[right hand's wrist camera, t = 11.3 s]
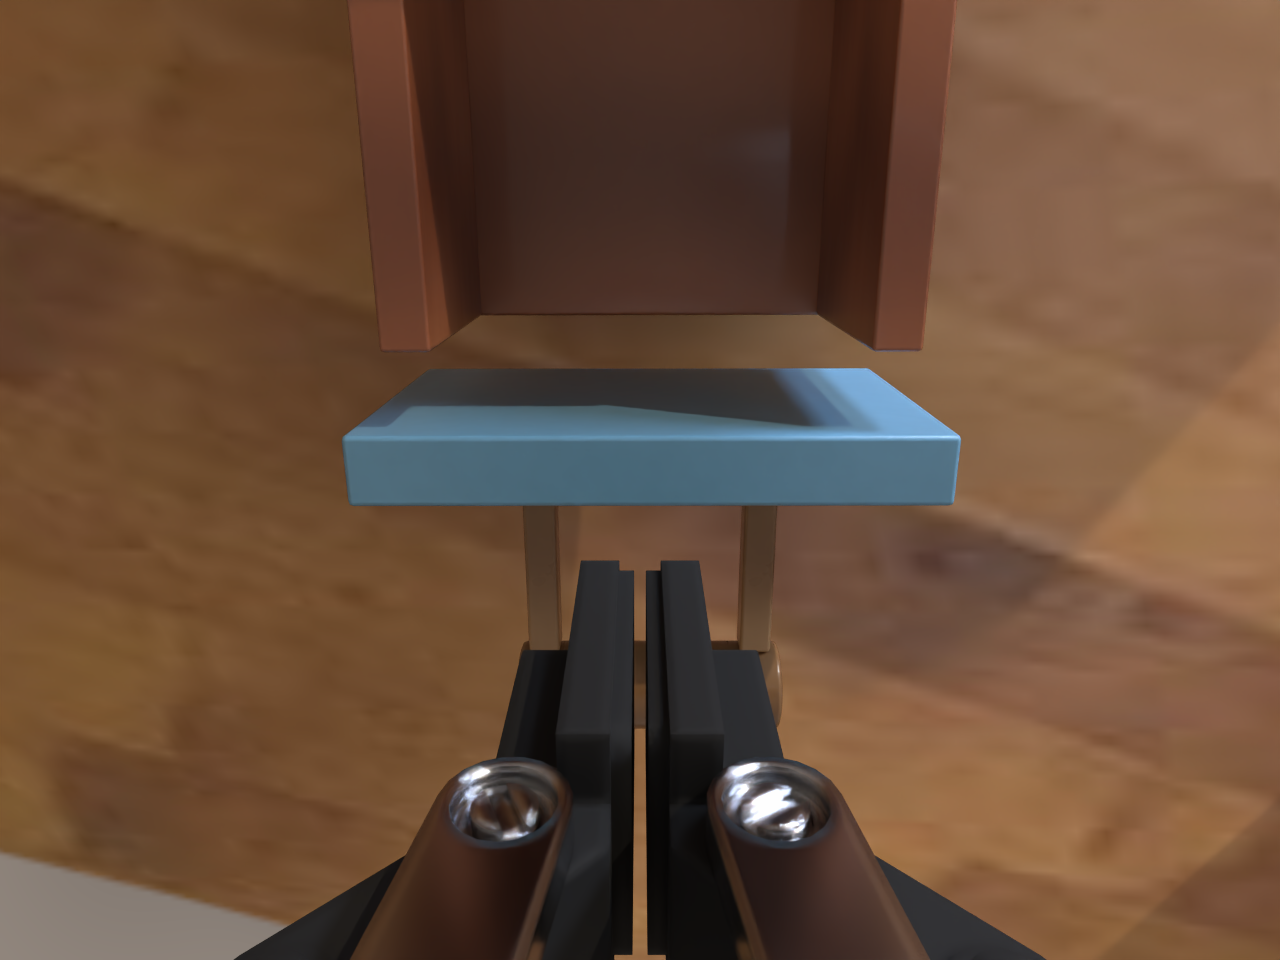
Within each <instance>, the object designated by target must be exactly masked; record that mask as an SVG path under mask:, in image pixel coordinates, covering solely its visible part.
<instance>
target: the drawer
mask: <svg viewBox="0 0 1280 960" xmlns="http://www.w3.org/2000/svg"><path fill="white" fill-rule="evenodd" d="M347 6H348V17H349V27H350V38H351V48H352V59H353V69H354V80H355V90H356V101H357V112H358V122H359V133H360V143H361V154H362V164H363V175H364V186H365V196H366V207H367V217H368V228H369V238H370V249H371V259H372V270H373V281H374V291H375V302H376V312H377V323H378V333H379V344H380V349H381V351H383V352H429V351H431V350H432V349H433V348H435V347H436V346H438V345H439V344H440V343H442V342H443V341H445V340H446V339H448V338H449V337H450V336H452V335H453V334H455V333H456V332H458V331H459V330H460V329H462V328H463V327H465V326H466V325H468V324H469V323H470V322H472V321H473V320H475V319H476V318H477V317H479V316H480V315H819V316H821V317H822V318H824V319H825V320H827V321H828V322H830V323H831V324H833V325H834V326H836V327H838V328H839V329H841V330H842V331H844V332H845V333H847V334H848V335H850V336H852V337H853V338H855V339H856V340H858V341H859V342H861V343H862V344H864V345H865V346H867V347H869V348H870V349H872V350H874V351H920V350H922V348H923V340H924V330H925V320H926V310H927V299H928V289H929V279H930V269H931V259H932V249H933V239H934V229H935V219H936V209H937V199H938V189H939V178H940V168H941V158H942V148H943V138H944V128H945V118H946V108H947V98H948V88H949V78H950V67H951V57H952V47H953V37H954V27H955V17H956V7H957V0H347ZM960 444H961V439H960V436H959V435H958V434H956V433H955V432H954V431H952V430H951V429H949V428H948V427H947V426H945V425H944V424H943V423H941V422H940V421H939V420H937V419H936V418H935V417H933V416H932V415H931V414H929V413H928V412H926V411H925V410H924V409H922V408H921V407H920V406H918V405H917V404H916V403H914V402H913V401H912V400H910V399H909V398H908V397H906V396H905V395H903V394H902V393H901V392H899V391H898V390H897V389H895V388H894V387H893V386H891V385H890V384H889V383H887V382H886V381H885V380H883V379H882V378H880V377H879V376H878V375H876V374H875V373H874V372H872V371H871V370H870V369H867V368H787V369H429V370H427V371H426V372H425V373H423V374H422V375H421V376H420V377H418V378H417V379H416V380H415V381H413V382H412V383H411V384H409V385H408V386H407V387H406V388H404V389H403V390H402V391H401V392H399V393H398V394H397V395H395V396H394V397H393V398H392V399H390V400H389V401H388V402H387V403H385V404H384V405H383V406H381V407H380V408H379V409H378V410H376V411H375V412H374V413H373V414H371V415H370V416H369V417H367V418H366V419H365V420H364V421H362V422H361V423H360V424H359V425H357V426H356V427H355V428H353V429H352V430H351V431H350V432H348V433H347V434H346V435H345V436H343V438H342V447H343V456H344V465H345V474H346V483H347V492H348V501H349V503H350V505H353V506H523V519H524V541H525V563H526V584H527V606H528V628H529V641H527V642H525V643H524V644H523V647H522V649H521V653H520V657H521V654H522V651H524V650H568V646H569V641H562V617H561V586H560V556H559V526H558V506H742V511H741V538H740V565H739V593H738V620H737V640H738V641H711V646H712V650H756V651H758V654H759V657H760V662H761V666H762V670H763V674H764V678H765V682H766V687H767V691H768V695H769V699H770V703H771V707H772V712H773V716H774V720H775V724H776V727H778V725H779V722H780V719H781V713H782V671H781V662H780V656H779V652H778V648H777V646H776V644H775V642H773V641H770V638H771V618H772V598H773V578H774V558H775V538H776V518H777V506H825V505H951V504H953V502H954V496H955V487H956V479H957V470H958V461H959V453H960ZM519 662H520V659H519ZM634 729H646V641H634Z"/></svg>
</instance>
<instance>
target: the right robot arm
mask: <svg viewBox="0 0 1280 960" xmlns="http://www.w3.org/2000/svg"><path fill="white" fill-rule="evenodd" d="M633 841H634V571H619V561H581V564H580V571H579V578H578V585H577V592H576V598H575V605H574V612H573V619H572V626H571V632H570V639H569V646H568V650H524V651H522V654H521V657H520V662H519V666H518V670H517V674H516V678H515V682H514V687H513V691H512V695H511V699H510V703H509V707H508V712H507V716H506V720H505V724H504V728H503V732H502V737H501V741H500V745H499V749H498V753H497V757H496V759H492V760H487V761H483V762H480V763H478V764H476V765H473V766H471V767H469V768H466V769H464V770H463V771H461V772H460V773H459V774H457V775H456V776H455V777H453V778H452V779H450V780H449V781H448V782H447V784H446V785H445V786H444V788H443V789H442V790H441V791H440V793H439V794H438V796H437V798H436V800H435V801H434V803H433V805H432V807H431V809H430V811H429V813H428V814H427V816H426V818H425V820H424V822H423V824H422V826H421V828H420V829H419V831H418V833H417V835H416V837H415V839H414V841H413V842H412V844H411V846H410V848H409V850H408V852H407V854H406V855H405V856H404V857H402V858H400V859H399V860H397V861H395V862H394V863H392V864H390V865H389V866H387V867H385V868H384V869H382V870H380V871H379V872H377V873H375V874H374V875H372V876H370V877H369V878H367V879H365V880H364V881H362V882H360V883H359V884H357V885H356V886H354V887H352V888H351V889H349V890H347V891H346V892H344V893H342V894H341V895H339V896H337V897H336V898H334V899H332V900H331V901H329V902H327V903H326V904H324V905H322V906H321V907H319V908H317V909H316V910H314V911H312V912H311V913H309V914H307V915H306V916H304V917H302V918H301V919H299V920H297V921H296V922H294V923H292V924H291V925H289V926H288V927H286V928H284V929H283V930H281V931H279V932H278V933H276V934H274V935H273V936H271V937H269V938H268V939H266V940H264V941H263V942H261V943H259V944H258V945H256V946H254V947H253V948H251V949H249V950H248V951H246V952H245V953H243V954H241V955H239V956H238V957H237V958H235V959H234V960H614V955H632V946H633ZM646 841H647V946H648V955H666V960H1046V959H1045V958H1043V957H1042V956H1041V955H1039V954H1037V953H1036V952H1034V951H1032V950H1031V949H1029V948H1027V947H1026V946H1024V945H1022V944H1021V943H1019V942H1017V941H1016V940H1014V939H1012V938H1011V937H1009V936H1007V935H1006V934H1004V933H1002V932H1001V931H999V930H997V929H996V928H994V927H992V926H991V925H989V924H988V923H986V922H984V921H983V920H981V919H979V918H978V917H976V916H974V915H973V914H971V913H969V912H968V911H966V910H964V909H963V908H961V907H959V906H958V905H956V904H954V903H953V902H951V901H949V900H948V899H946V898H944V897H943V896H941V895H939V894H938V893H936V892H934V891H933V890H931V889H929V888H928V887H926V886H924V885H923V884H921V883H920V882H918V881H916V880H915V879H913V878H911V877H910V876H908V875H906V874H905V873H903V872H901V871H900V870H898V869H896V868H895V867H893V866H891V865H890V864H888V863H886V862H885V861H883V860H881V859H880V858H878V857H876V856H875V855H874V854H873V852H872V850H871V848H870V846H869V844H868V843H867V841H866V839H865V837H864V835H863V833H862V831H861V829H860V828H859V826H858V824H857V822H856V820H855V818H854V816H853V814H852V813H851V811H850V809H849V807H848V805H847V803H846V801H845V800H844V798H843V796H842V794H841V793H840V791H839V790H838V789H837V788H836V786H835V785H834V784H833V782H832V781H831V780H830V779H828V778H827V777H825V776H824V775H823V774H821V773H820V772H819V771H817V770H816V769H814V768H811V767H809V766H807V765H804V764H802V763H800V762H797V761H793V760H788V759H784V757H783V753H782V749H781V745H780V741H779V737H778V732H777V728H776V724H775V720H774V716H773V712H772V707H771V703H770V699H769V695H768V691H767V687H766V682H765V678H764V674H763V670H762V666H761V662H760V657H759V654H758V651H756V650H712V646H711V639H710V632H709V626H708V619H707V612H706V605H705V598H704V592H703V585H702V578H701V571H700V564H699V561H661V571H646Z"/></svg>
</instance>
